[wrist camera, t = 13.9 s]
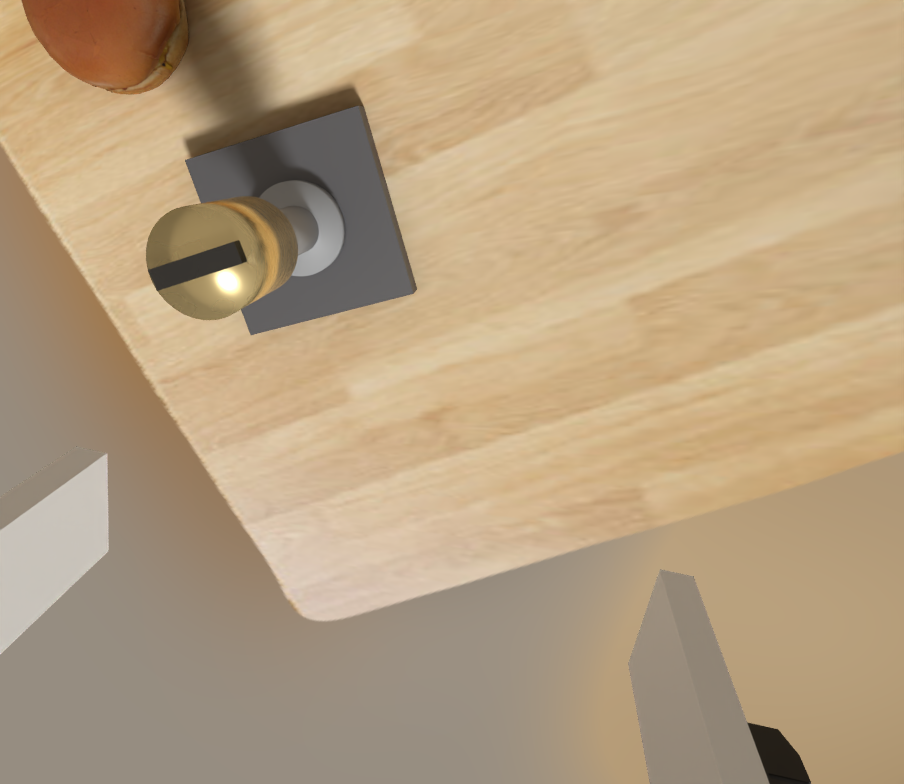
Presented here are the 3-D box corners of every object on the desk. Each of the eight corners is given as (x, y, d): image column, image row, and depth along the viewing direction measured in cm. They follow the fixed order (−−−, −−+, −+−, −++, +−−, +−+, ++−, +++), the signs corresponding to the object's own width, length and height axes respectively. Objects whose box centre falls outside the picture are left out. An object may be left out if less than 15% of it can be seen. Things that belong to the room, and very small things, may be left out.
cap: (276, 183, 35) (222, 191, 29) (312, 278, 37) (268, 305, 31) (189, 213, 36) (119, 227, 30) (227, 305, 38) (168, 336, 32)
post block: (363, 106, 43) (317, 96, 34) (417, 289, 47) (388, 325, 37) (195, 159, 45) (108, 163, 36) (258, 329, 49) (194, 373, 40)
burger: (169, 119, 45) (130, 116, 40) (38, 49, 44) (-16, 38, 40) (219, -37, 41) (182, -59, 37) (78, -115, 41) (24, -146, 36)
